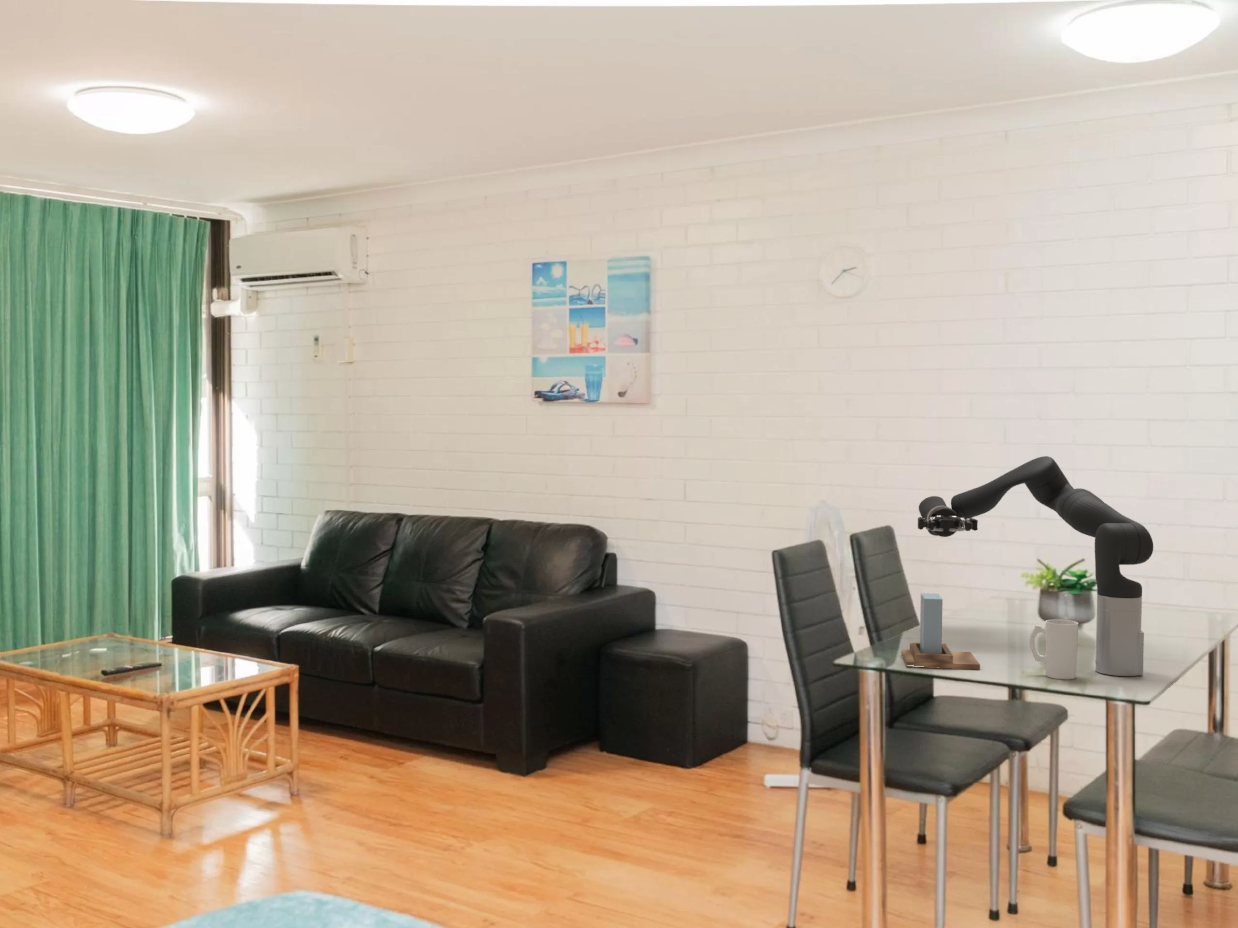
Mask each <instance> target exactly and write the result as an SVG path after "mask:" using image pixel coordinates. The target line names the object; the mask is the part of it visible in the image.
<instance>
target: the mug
mask: <svg viewBox="0 0 1238 928" xmlns="http://www.w3.org/2000/svg"><path fill="white" fill-rule="evenodd" d="M1040 633H1043V634H1044V635H1045V654H1044V655H1041V654H1040V653H1039V652H1038V650H1037V648H1036V641H1035V640H1036V637H1037V636H1038V634H1040ZM1078 638H1079V622H1077V621H1075V620H1069V619H1047V620H1045V626H1044V627H1043V626H1042V625H1040V624H1039V625H1038V624H1035V625H1034V628H1033V629H1032V631H1031V634H1030V635H1029V647H1030V651H1031V653H1032V657H1033V659H1034V661H1035V662H1041V663H1043V664H1044V665H1045V676H1046V677H1048V678H1050V679H1056V680H1074V679H1076V677H1077V665H1078V644H1079V643H1078V642H1079V639H1078Z"/></svg>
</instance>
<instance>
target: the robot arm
mask: <svg viewBox="0 0 1238 928" xmlns="http://www.w3.org/2000/svg"><path fill="white" fill-rule="evenodd" d="M1022 484H1024V485H1025V486H1026V488H1027V490H1028V491H1029V492H1030V494H1031V495H1032V497H1033V498H1034V499H1035V500H1036V501H1037V502H1038V503H1039V504H1041V505H1043V506H1045V507H1047V508H1049V509H1050V510H1052V511H1054V512H1056V513H1057V515H1058V517H1060V518H1061V519H1062V520H1063V521H1064V522H1065V523H1066V524H1068V525H1069V526H1070V527H1071V528H1072V529H1074V530H1076V531H1077V532H1078V533H1080V534H1082V535H1085V536H1088V537H1092V538H1094V560H1095V562H1094V563H1095V564H1094V567H1095V570H1094V572H1095V583H1096V590H1097V591H1096V595H1097V596H1096V629H1095V630H1096V632H1095V633H1096V635H1095V637H1096V638H1095V639H1096V640H1095V671H1096V672H1097V673H1100V674H1104V675H1107V676H1115V677H1117V676H1118V677H1135V676H1143V675H1144V647H1145V645H1144V644H1145V643H1144V641H1145V632H1143V630H1142V616H1143V615H1142V608H1143V607H1142V606H1143V605H1142V604H1143V586H1142V584H1141V583H1140V582H1138V581H1135V580H1132V579H1130V578H1128V577H1126V576H1124V575H1123V574H1122V573H1121V569H1120V566H1122V565H1123V566H1133V565H1141V564H1144V563H1146V562H1147V561H1148V560H1150V558H1151V556H1152V555H1153V553H1154V542H1153V538H1152V535H1151V534H1150V531H1149V530H1148V529H1147V528H1146V527H1145V526H1144V525H1143V524H1141V523H1140V522H1138V521H1135V520H1134V519H1131V518H1129V517H1127V516H1125V515H1123V514H1121V513H1120V512H1118V511H1117V510H1116V509H1115V508H1113V507H1112V506H1110V505H1108V504H1107V503H1106V502H1104V501H1103V500H1102V499H1101V498H1100V497H1098V496H1097V495H1096V494H1094V493H1093V492H1092V491H1090V490H1088V489H1085V488H1079V487H1078V488H1074V487H1073V486H1072V485H1071V483H1070V482H1069V479H1068V478H1067V477H1066V475H1065V474H1064V472H1063V471H1062V469H1061V467H1060V466H1059V464H1058V463H1057V462H1056V460H1055V459H1054V458H1052V457H1051V456H1047V455H1046V456H1043V455H1042V456H1040V457H1036V458H1034V459H1030V460H1029V461H1027V462H1024V463H1023V464H1021V465H1019V466H1017V467H1015V468H1014V469H1012V470H1009V471H1008V472H1005V473H1004V474H1003V475H1002V474H1001V475H1000V476H998V477H996V478H994V479H993V480H990V481H988V482H987V483H985V484H983V485H980V486H978V487H975V488H971V489H970V490H969V489H968V490H966V491H964V492H960V493H957V494H955V495H954V496H952V497H951V501H950V507H949V506H947V504H946V502H945V500H944V498H942V497H940V496H937V495H936V496H935V495H934V496H933V495H932V496H928V497H926V498H924V499H923V500H921V501H920V503H919V505H918V512H919V514H920V516H919V517H917V528H918V530H924V529H925V530H926V531H927V532H928V533H929V534H930V535H932V536H935V537H941V538H948V537H951V536H953V535H955V534H956V533H957V532H964V531H966V532H970V531H971V530H972V531H974V532H975V531H978V529H979V528H978V522H979V521H978V519H976V518H975V517H978V516H980V515H983V514H986V513H988V512H990V511H992V510H993V509H995V508H996V506H997V505H998V504H999V502H1000V501H1001V500H1002V498H1003V497H1005V495H1006V494H1007V493H1008V492H1009V491H1010V490H1011V489H1012V488H1014V487H1016V486H1020V485H1022Z"/></svg>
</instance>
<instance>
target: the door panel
mask: <svg viewBox="0 0 1238 928" xmlns="http://www.w3.org/2000/svg"><path fill="white" fill-rule="evenodd" d="M943 600H944V599H943V598H942V597H941V595H940V594H939V593H929V592H928V593H925V592H921V593H920V614H919V615H920V618H919V621H920V622H919V625H920V628H919V643H920V653H921V654H942V643H943Z"/></svg>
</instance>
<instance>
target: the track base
mask: <svg viewBox="0 0 1238 928" xmlns="http://www.w3.org/2000/svg"><path fill="white" fill-rule="evenodd" d="M900 650H901V651H900V653H901V654H902V655H901V654H900V655H901V657H902V656H903V657H902V660H903V659H904V660H903V662H904V661H905V662H904V664H905V663H906V664H905V666H906V665H914V666H924V667H939V668H938V669H942V668H952V669H951V670H975V671H979V670H981V663H979V660H977V659H976V657H975V656H974V654H973V653H972V652H971V651H959V650H958V651H953V650H950V648H949V647H948V646H947V644H946V643H944V642H942V654H921V653H920V642H912V641H911V642H909V649H900Z"/></svg>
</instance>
